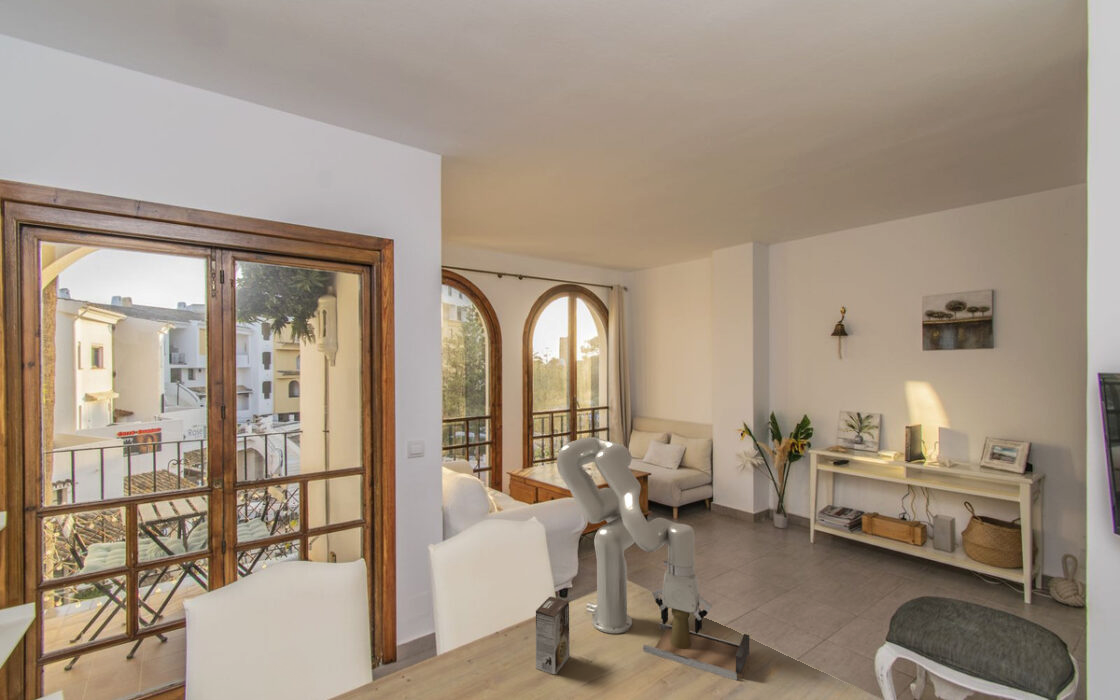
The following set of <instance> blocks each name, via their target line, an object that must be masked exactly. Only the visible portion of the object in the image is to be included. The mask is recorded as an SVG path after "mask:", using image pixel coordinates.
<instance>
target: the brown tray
mask: <svg viewBox="0 0 1120 700" xmlns="http://www.w3.org/2000/svg"><path fill="white" fill-rule="evenodd" d="M671 632H672V629H671V628H667V630H664V633H663V635H661V637H660V638H659V641H657V644H656V645H655V646H654V647H655V648H658V649H661V650H665V651H668V652H671V653H674V654H678V655H681V656H684V657H688V658H691V659H694V660H697V661H701V662H704V663H707V664H711V665H714V666H717V667H721V668H724V669H727V670H730V671H734V672H737V678H738V679H739V678H740V679H743V675H744V672H745V669H746V667H747V664H748V660H749V658H750V654H751V652H750V645H751V644H750V634H747V633H743V634H742V638H741V641H740V643H739V644H740V646H739V648H738V647H735V646H731V645H728V644H724V643H721V642H717V641H713V640H710V639H706V638H703V637H699V636H696V635H692V634H690V638H691V646H690V647H689V648H687V649H679V648H676V647H674V646H672V644H671V643H670V639H671Z"/></svg>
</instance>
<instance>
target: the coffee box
mask: <svg viewBox="0 0 1120 700" xmlns="http://www.w3.org/2000/svg"><path fill="white" fill-rule="evenodd" d="M569 658H570V601H569V600H566V599H565V600H564V599H562V598H558V597H555V596H549V597H547V599H546V600H545V601H544V602H543V603H542V604H541V605H540V606H539V607H538V608H537V609H536V610H535V669H536V670H539V671H542V672H544V673H549V674H552V675H554V674H556V675H557V674H558V672H559V671H560V670H561V669H562V667H563V666H564V664H565V663H566V662H567V661H568V659H569Z"/></svg>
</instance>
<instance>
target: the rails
mask: <svg viewBox="0 0 1120 700" xmlns="http://www.w3.org/2000/svg"><path fill="white" fill-rule="evenodd" d="M667 628H671V629H672V625H671V624H667V623H666V624H665V625H664V624H663V622H659V623H658V629H659V630H662V631H666V630H667ZM690 634H692V635H696V636H699V637H703V638H706V639H710V640H713V641H717V642H721V643H724V644H728V645H731V646H735V647H738V648H739V646H740V643H736V642H732V641H729V640H725V639H722V638H719V637H715V636H710V635H708V634H704V633H701V632H698V634H697V633H695V631H693V630H690ZM642 648H643V649H642V650H643V652H644V653H647V654H651V655H654V656H657V657H660V658H664V659H667V660H670V661H673V662H676V663H680V664H683V665H687V666H690V667H693V668H696V669H700V670H702V671H706V672H708V673H712V674H715V675H718V676H722V677H725V678H728V679H731V680H734V681H738V677H737V672H734V671H730V670H727V669H724V668H721V667H717V666H714V665H711V664H707V663H704V662H701V661H697V660H694V659H691V658H688V657H684V656H681V655H678V654H674V653H671V652H668V651H665V650H661V649H658V648H655V646H652V645H647V644H643V647H642Z"/></svg>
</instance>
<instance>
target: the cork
mask: <svg viewBox="0 0 1120 700" xmlns="http://www.w3.org/2000/svg"><path fill="white" fill-rule="evenodd" d="M690 614H691V613H688V612H684V611H680V610H676V609H672V608H671V615H672V616H673V618H672V623H671V624H672V632H671V639H670V643H671V644H672V646H674V647H676V648H679V649H687V648H689V647H690V646H691V638H690V631H691V630H690V625H689V624H690V623H689V617H690Z"/></svg>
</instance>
